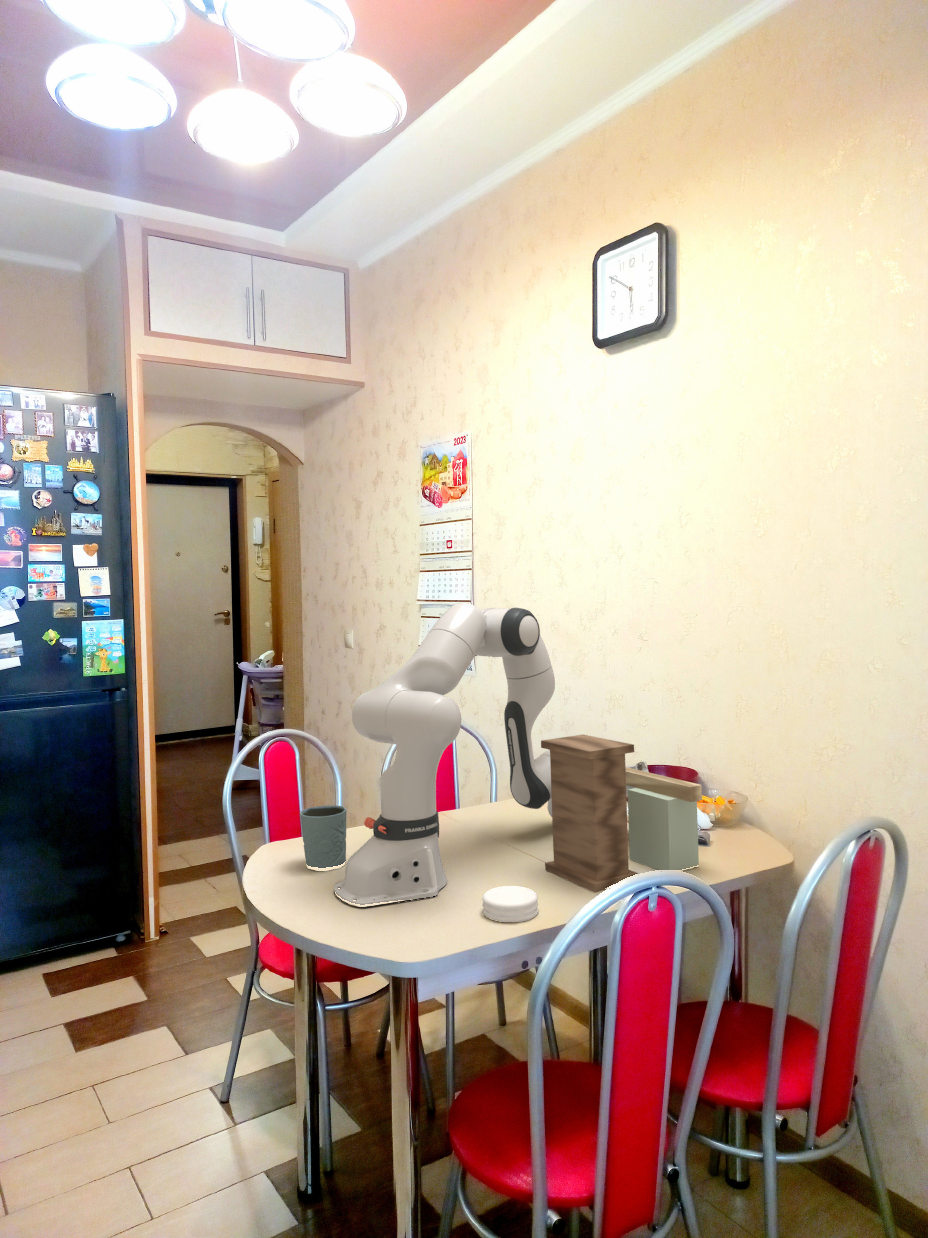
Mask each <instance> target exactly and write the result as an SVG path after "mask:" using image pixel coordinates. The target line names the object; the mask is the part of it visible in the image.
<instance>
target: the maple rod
mask: <svg viewBox="0 0 928 1238" xmlns="http://www.w3.org/2000/svg"><path fill="white" fill-rule="evenodd" d="M625 768H626V785H628V786H632V787H635V788H639V789H643V790H647V791H651V792H654V793H658V794H662V795H666V796H669V797H673V798H677V799H681V800H685V801H688V802H695V801H697V802H698V801H702V800H703V787H702V784H699V783H695V782H691V781H686V780H682V779H678V778H674V777H669V776H666V775H661V774H657V773H652V772H645V771H640V770H636V769H632V768H628V767H625Z"/></svg>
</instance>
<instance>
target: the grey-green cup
mask: <svg viewBox="0 0 928 1238" xmlns="http://www.w3.org/2000/svg"><path fill="white" fill-rule="evenodd" d="M347 812H348V811H347V808H346V807H345V806H343V805H342V806H341V805H331V804H330V805H320V806H317V805H316V806H312V807H309V808H304V809H302V810H301V811H300V812H299V817H300V826H301V835H302V836H301V837H302V842H303V850H304V857H305V865H306V864H307V865H308V866H311V867H318V868H326V867H333V866H338V865H341V864H343V863H344V862H345V861H346V862H347Z"/></svg>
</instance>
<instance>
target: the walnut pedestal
mask: <svg viewBox="0 0 928 1238" xmlns="http://www.w3.org/2000/svg"><path fill="white" fill-rule="evenodd" d="M540 748H541V749H544V750H545V749H546V750H547V751H548V750H550V765H551V794H552V817H551V819H552V821H551V823H552V844H553V845H552V848H553V849H552V851H553V860H552V861H548V862H545V863H544V867H545V868H544V869H545V871H546V872H548V873H551V874H552V875H555V876H558V877H559V878H562V879H564V880H566V881H568V882H571V883H573V884H575V885H577V886H579V887H582V888H584V889H587V890H588V891H591V892H593V893H596V892H597V893H598V892H601V891H605V890H606V889H605V888H607V887H609V886H611V885H613V884H616V883H618V882H619V881H621V880H623V879H625V878H627V877H630V876H633V875H635V874H638V875H639V873H638V872H637V871H634V870H631V869H629V867H630V866H629V865H630V864H629V831H628V799H627V796H626V768H625V766H626V754H631V753H635V744H632V743H629V742H622V741H617V740H612V739H608V738H603V737H598V736H592V735H588V734H577V735H570V736H564V737H555V738H548V739H542V740H540ZM604 889H605V890H604Z"/></svg>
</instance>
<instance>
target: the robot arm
mask: <svg viewBox="0 0 928 1238" xmlns="http://www.w3.org/2000/svg"><path fill="white" fill-rule="evenodd" d="M477 656H479V657H488V658H489V657H492V658H502V664H503V671H504V673H505V678H506V682H507V701H506V704H505V705H506V706H505V708H504V712H503V713H504V714H503V715H504V716H503V717H504V718H503V719H504V730H505V737H506V744H507V745H506V746H507V752H508V761H509V769H510V771H509V774H510V775H509V787H510V793H511V796H512V797H513V799H514V800H515V802H516V803H517V804H519V805H520V806H521V807H524V808H528V809H532V810H533V809H534V810H538V809H541V808H542V807H543V806H544V805H546V804H547V812H548V815H550V817H551V818H552V794H551V765H550V750H548V749H547V750H546V751H545V752H543V753H541V754H539V756H537V757H536V758H534V750H533V741H532V729H533V726H534V724H535V722H536V720H537V718H538V717H539V715H540V714H541V712H542V711H543V709H544V708H545V707H546V706H547V705H548V703H550V701H551V699H552V697H553V695H554V693H555V691H556V690H555V689H556V680H555V678H556V677H555V673H554V670H553V665H552V662H551V659H550V655H549V652H548V650H547V646H546V644H545V642H544V639H543V638H542V635H541V631H540V623H539V621H538V619H537V618H536V617H535V615H534V614H533V613H532V611H530V610H529V609H525V608H521V607H512V608H510V607H509V608H505V607H502V608H501V607H497V608H496V607H486V608H482V609H480V608H479V607H478V606H476V605H474V604H473V603H469V602H466V601H465V602H464V601H463V602H462V601H461V602H457V603H455V604H453V605H451V606H450V607H449V608H448V609H447V610H446V611H444V613H443V614H442V615H441V616H440V617H439V618H438V619H437V620H436V621H435V623H434V624H433V626H432V627H431V629H430V630H429V632H427V634H426V636H425V637H424V638H423V640H422V642H421V644H420V645H418V647H417V649H416V650H415V652H414V653H413V654H412V656H411V657H410V658H409V659H408V660H407V661H406V663H404V664H403V665H402V666H401V667H400V668H399V669H398V670H396V672H394V673H393V674H392V675H391V676H390V677H388V678H387V679H385V681H383V682H382V683H381V684H380V685H378V686H375V687H374V688H373V689H371V690H368V691H366V692H364V693H362V694H360V695H359V696H358V698H357V699H356V700H355V701H354V704H353V705H352V706H353V707H352V711H351V720H352V725H353V727H354V729H355V730H356V732H357V733H358V734H359V735H361V736H362V737H364V738H367V739H368V740H371V741H374V742H376V743H381V744H382V743H383V744H389V745H391V744H392V745H396V754H395V758H394V761H393V764H392V765H390V766H389V767H388V768H386V769H385V770H384V771H383V772H382V773H381V776H380V779H379V789H380V790H379V791H380V792H379V793H380V795H379V796H380V815H379V816H378V818H376V819H374V818H372V817H370V816H368V817H366V818H365V819H364V820H363V824H364V825H363V826H365V828H368V829H369V830H373V835H372V836H371V837H370V838H369V839H367V841H366V842H365V843H364V844H363V845H361V846H360V847H359V848H358V849H357V851H355V852H354V853H353V854H352V855H351V856H350V857H349V858H348V859H347V861H346V865H345V871H344V872H345V873H344V874H345V875H344V880H342V881H339V882H337V883H335V885H334V886H333V892H334V891H335V892H336V894H337V895H338V896H340V897H341V898H342V899H344V900H347V901H349V902H351V903H355V904H360V905H365V904H373V903H380V902H389V901H398V900H410V899H417V898H424V899H427V898H426V897H430V898H434V897H433V896H435V897H436V895H437V896H438V894H439V891H440V890H441V889H442V888H444V887H445V886H446V885H447V882H448V879H447V876H446V873H445V870H444V866H443V862H442V857H441V851H440V844H439V838H440V821H439V819H440V818H439V811H437V799H436V798H437V797H436V796H437V792H436V791H437V786H436V785H437V782H436V781H437V773H438V767H439V763H440V760H441V758H442V755H443V753H444V751H445V750H446V749H447V748H448V746H449V745H451V744H452V743H453V742H454V741H455V740H456V739H457V737H458V735H459V733H460V731H461V727H462V713H461V709H460V707H459V705H458V704H457V702H456V701H455V700H454V699H453V698H451V697H448V696H446V695H447V694H449V693H450V692H452V691H453V690H455V689H456V687H457V686H458V684H459V683H460V681H461V680H462V678H463V676H464V675H465V673H466V671H467V670H468V668H469V666H470V665H471V663H472V662H473V660H474V658H475V657H477ZM625 767H628V768H632V769H636V770H640V771H645V772H649V769H648V764H647V762H646V761H638V763H636V764H630V765H625ZM649 773H650V772H649ZM633 788H635V787H632V786H628V785H626V797H628V789H633ZM338 888H340V889H338ZM353 900H356V901H353ZM417 900H418V899H417Z"/></svg>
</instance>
